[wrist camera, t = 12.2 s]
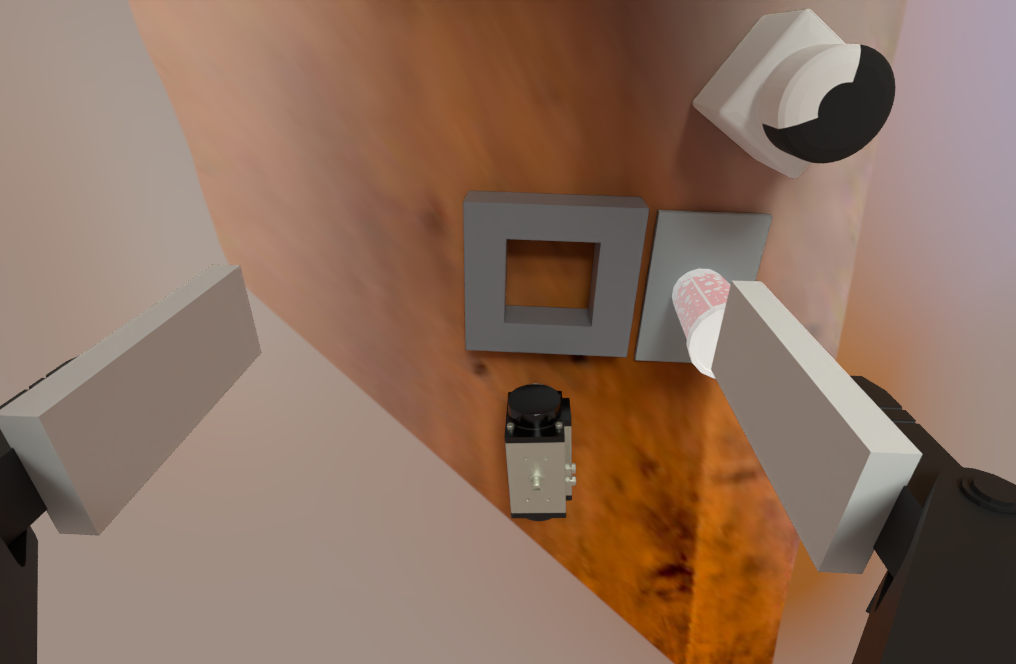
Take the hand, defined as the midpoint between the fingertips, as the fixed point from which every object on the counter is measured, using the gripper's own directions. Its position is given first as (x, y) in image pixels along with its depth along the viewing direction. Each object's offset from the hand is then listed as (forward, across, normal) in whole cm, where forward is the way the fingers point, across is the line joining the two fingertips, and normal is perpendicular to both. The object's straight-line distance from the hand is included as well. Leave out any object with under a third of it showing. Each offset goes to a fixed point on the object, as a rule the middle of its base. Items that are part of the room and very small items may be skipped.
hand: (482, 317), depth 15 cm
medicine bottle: (+31, +18, +4) cm, 36 cm away
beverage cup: (+30, +16, -12) cm, 36 cm away
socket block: (+30, +3, -11) cm, 32 cm away
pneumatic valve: (+31, +3, -25) cm, 39 cm away
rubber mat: (+30, +16, -12) cm, 37 cm away
